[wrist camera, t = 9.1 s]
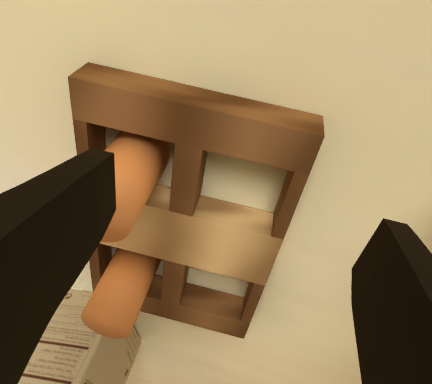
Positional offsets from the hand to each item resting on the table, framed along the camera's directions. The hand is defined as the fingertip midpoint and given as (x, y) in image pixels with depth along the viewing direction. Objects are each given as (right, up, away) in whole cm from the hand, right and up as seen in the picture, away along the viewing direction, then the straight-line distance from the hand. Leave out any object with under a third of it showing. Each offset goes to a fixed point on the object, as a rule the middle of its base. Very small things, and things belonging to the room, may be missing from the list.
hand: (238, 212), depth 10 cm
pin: (-6, -4, +17) cm, 18 cm away
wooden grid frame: (-3, -1, +14) cm, 14 cm away
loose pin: (-5, +3, +11) cm, 12 cm away
